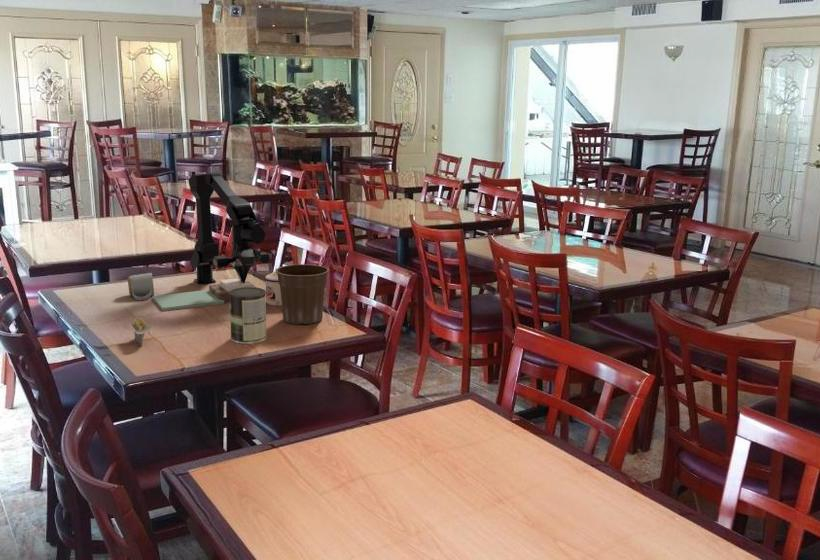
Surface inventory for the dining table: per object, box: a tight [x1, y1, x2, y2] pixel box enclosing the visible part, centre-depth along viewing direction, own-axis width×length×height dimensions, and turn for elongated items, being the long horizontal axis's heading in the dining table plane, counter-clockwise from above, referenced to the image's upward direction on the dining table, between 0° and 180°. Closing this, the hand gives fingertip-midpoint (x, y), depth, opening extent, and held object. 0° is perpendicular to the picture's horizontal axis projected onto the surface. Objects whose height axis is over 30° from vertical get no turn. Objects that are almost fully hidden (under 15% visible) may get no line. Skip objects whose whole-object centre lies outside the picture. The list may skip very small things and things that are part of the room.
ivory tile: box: [219, 278, 244, 291], centre depth 268 cm, size 8×6×2 cm
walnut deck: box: [208, 280, 258, 303], centre depth 269 cm, size 13×14×3 cm
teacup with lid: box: [264, 270, 282, 307], centre depth 260 cm, size 12×9×12 cm
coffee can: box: [229, 286, 268, 345], centre depth 223 cm, size 10×10×14 cm
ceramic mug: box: [127, 272, 155, 301], centre depth 265 cm, size 11×8×8 cm
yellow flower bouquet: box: [129, 318, 151, 348], centre depth 219 cm, size 12×18×7 cm, turn 31°
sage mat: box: [151, 289, 225, 312], centre depth 262 cm, size 16×20×1 cm
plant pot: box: [275, 263, 330, 325], centre depth 242 cm, size 16×16×16 cm
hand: (242, 283), depth 270 cm, fingers closed
